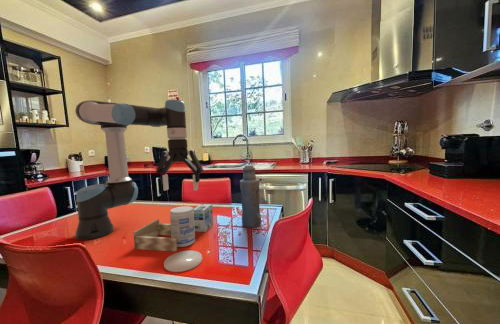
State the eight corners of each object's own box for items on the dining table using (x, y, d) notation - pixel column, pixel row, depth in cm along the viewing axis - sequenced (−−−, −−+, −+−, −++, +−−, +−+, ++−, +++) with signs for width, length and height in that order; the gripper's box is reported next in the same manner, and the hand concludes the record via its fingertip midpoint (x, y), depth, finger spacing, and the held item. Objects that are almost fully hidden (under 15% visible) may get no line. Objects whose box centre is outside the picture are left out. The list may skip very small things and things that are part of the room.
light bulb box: (205, 232, 104) (204, 210, 104) (192, 231, 106) (191, 209, 105) (213, 224, 115) (212, 203, 114) (201, 223, 116) (200, 203, 115)
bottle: (258, 228, 106) (255, 166, 104) (239, 227, 110) (236, 166, 107) (263, 221, 115) (261, 164, 113) (245, 220, 118) (243, 164, 116)
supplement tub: (183, 250, 88) (181, 213, 86) (166, 245, 92) (164, 211, 91) (200, 240, 96) (198, 207, 95) (184, 236, 101) (181, 204, 99)
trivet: (156, 270, 74) (155, 268, 74) (176, 251, 87) (176, 249, 87) (191, 273, 71) (191, 271, 71) (207, 253, 84) (207, 251, 84)
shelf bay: (134, 248, 90) (133, 232, 90) (157, 233, 105) (156, 219, 105) (175, 251, 87) (174, 234, 86) (193, 235, 102) (192, 220, 101)
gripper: (144, 140, 90) (148, 191, 91) (202, 137, 85) (205, 192, 86) (155, 140, 97) (159, 188, 99) (209, 137, 92) (212, 188, 94)
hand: (180, 190), depth 93 cm, fingers open, 13 cm apart
